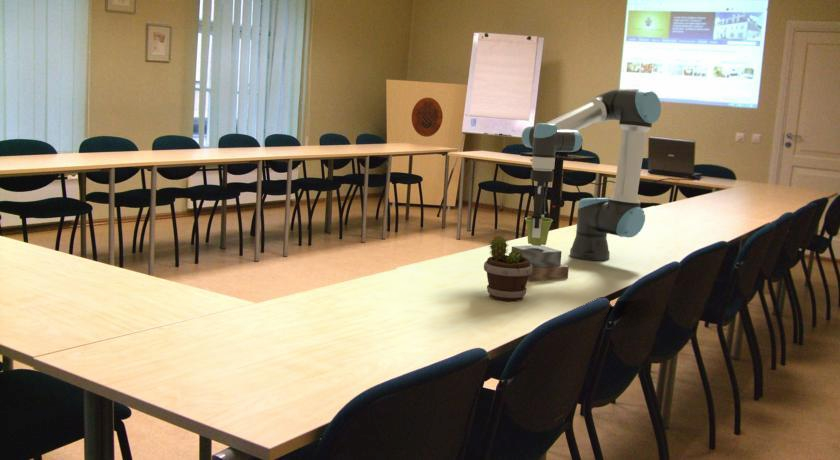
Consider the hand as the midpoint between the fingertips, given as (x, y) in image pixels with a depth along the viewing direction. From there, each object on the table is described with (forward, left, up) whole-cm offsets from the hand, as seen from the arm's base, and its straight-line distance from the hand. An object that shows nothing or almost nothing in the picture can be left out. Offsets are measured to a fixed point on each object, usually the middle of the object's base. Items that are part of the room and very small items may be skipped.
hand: (537, 235), depth 279 cm
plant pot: (0, 0, -3) cm, 3 cm away
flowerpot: (+29, +22, -14) cm, 39 cm away
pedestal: (0, 0, -14) cm, 14 cm away
